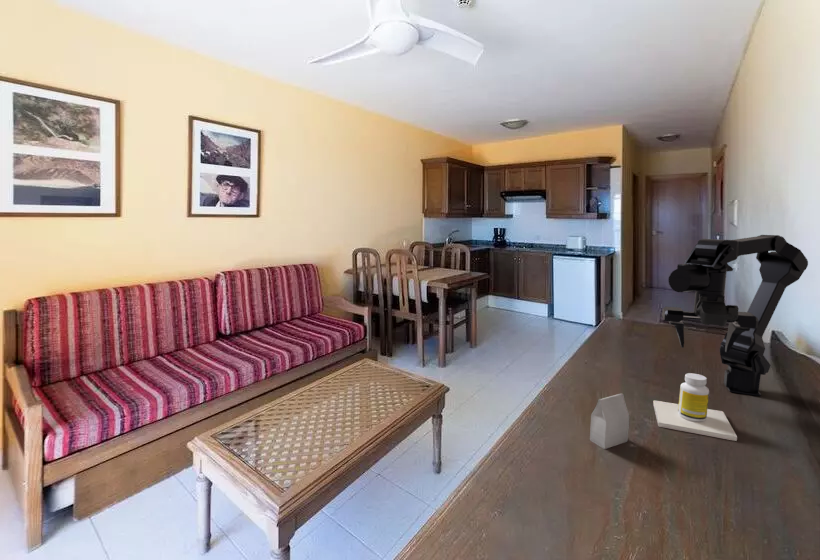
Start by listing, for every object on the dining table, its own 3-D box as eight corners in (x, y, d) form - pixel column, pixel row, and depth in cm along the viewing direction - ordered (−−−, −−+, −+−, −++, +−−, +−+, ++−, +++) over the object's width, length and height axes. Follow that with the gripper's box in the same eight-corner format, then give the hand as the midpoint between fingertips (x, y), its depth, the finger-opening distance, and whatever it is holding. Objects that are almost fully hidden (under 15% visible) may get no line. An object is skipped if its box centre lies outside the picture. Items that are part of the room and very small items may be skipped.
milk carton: (627, 441, 83) (630, 397, 81) (604, 449, 80) (607, 403, 79) (612, 433, 86) (615, 390, 85) (589, 440, 84) (592, 396, 82)
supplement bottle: (711, 423, 87) (715, 382, 86) (684, 421, 88) (688, 380, 87) (698, 412, 92) (702, 372, 91) (673, 410, 94) (676, 371, 92)
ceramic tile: (722, 415, 93) (722, 411, 93) (736, 441, 82) (737, 436, 82) (653, 403, 99) (653, 400, 99) (658, 426, 88) (658, 422, 88)
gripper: (669, 292, 95) (664, 354, 97) (770, 298, 86) (762, 365, 89) (664, 285, 104) (659, 341, 107) (754, 289, 96) (747, 350, 98)
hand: (704, 349), depth 100 cm, fingers open, 9 cm apart
